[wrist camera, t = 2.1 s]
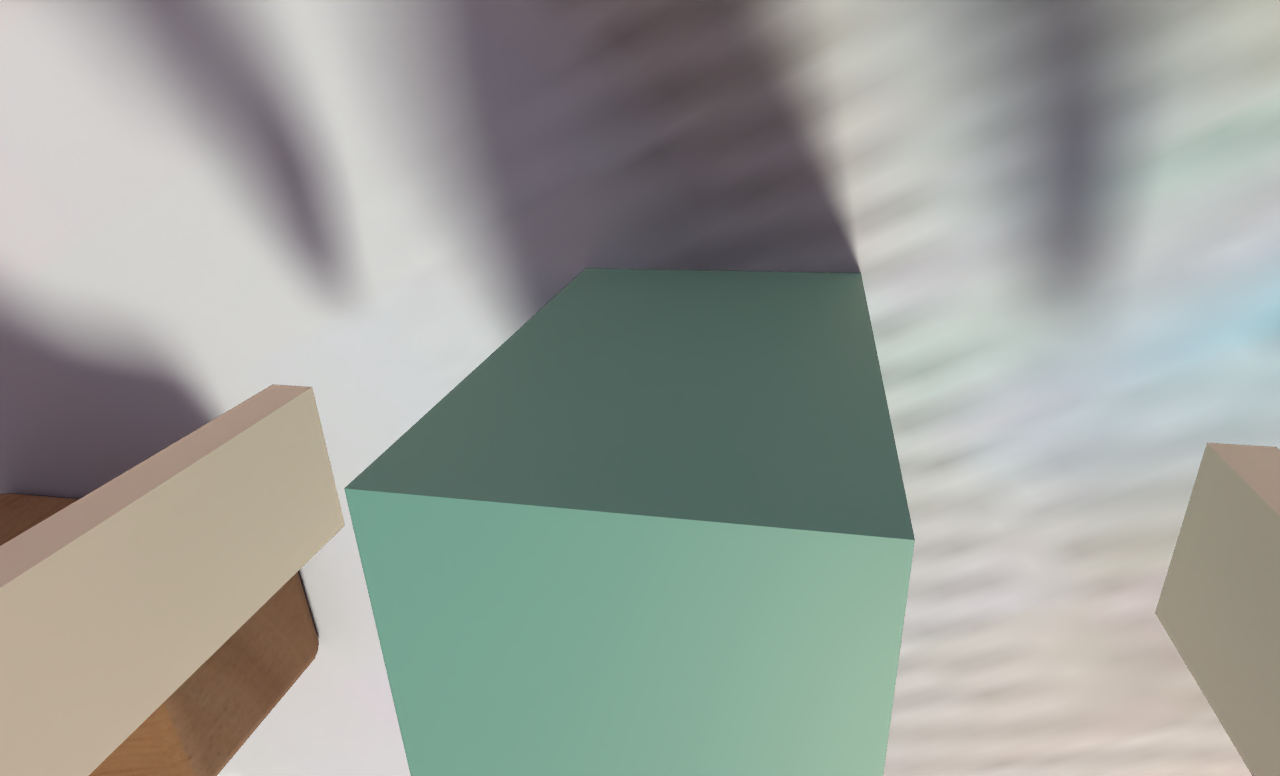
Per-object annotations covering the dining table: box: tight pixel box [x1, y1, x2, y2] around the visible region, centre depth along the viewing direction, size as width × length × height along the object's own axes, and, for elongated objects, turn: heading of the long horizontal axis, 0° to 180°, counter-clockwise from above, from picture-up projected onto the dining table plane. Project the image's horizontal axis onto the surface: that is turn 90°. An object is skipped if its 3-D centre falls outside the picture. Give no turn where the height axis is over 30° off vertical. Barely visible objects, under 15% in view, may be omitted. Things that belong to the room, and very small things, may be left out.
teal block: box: [344, 268, 915, 776], centre depth 11 cm, size 5×5×8 cm
